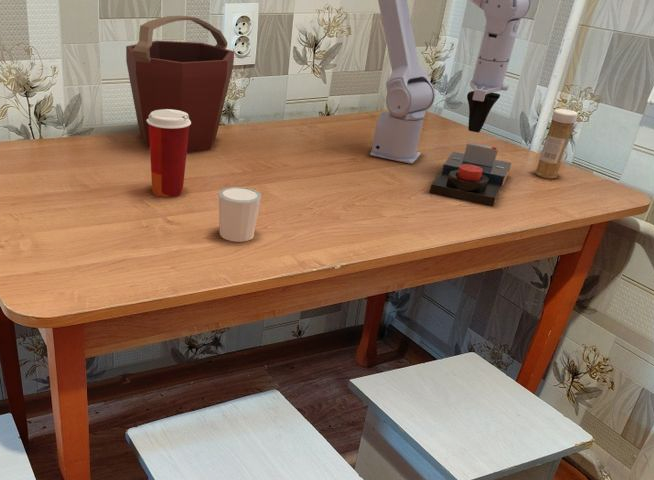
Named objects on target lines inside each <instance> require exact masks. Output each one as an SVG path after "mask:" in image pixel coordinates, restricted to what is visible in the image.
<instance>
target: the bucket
mask: <svg viewBox="0 0 654 480" xmlns="http://www.w3.org/2000/svg"><path fill="white" fill-rule="evenodd" d="M177 21H178V22H180V21H191V22H193V23H195V24H196V25H199V26H201V27H202V28H203V29H205V30H206V31H208V32H210V34H211V35H212V37H213V38H214V40H215V42H216V44H215V45H212V44H209V43H205V42H196V41H195V42H194V41H175V40H153V37H154V36H153V35H154V30H156V29H158V28H160V27H162V26H164V25H167V24H171V23H174V22H177ZM228 44H229V43H228V41H227V39H226V37H225V36H224V34H223V33H222V31H221V30H220V29H218V28H217V27H214V26H213V25H212V24H211V23H209V22H207V21H205V20H202V19H200V18H198V17H195V16H190V15H168V16H163V17H159V18H154V19H152V20H149V21H147V22H144V23H143V24H141V25H140V26H139V33H138V41H137V43H136V44H135V43H134V44H130V45H126V46H125V59H126V60H125V61H126V67H127V73H128V78H129V84H130V89H131V92H132V93H131V95H132V101H133V105H134V111H135V115H136V121H137V127H138V131H139V137H140V139H141V141H142V142H143V143H144V145H145V146H146V148H148V149H150V137H149V124H148V123H147V121H146V120H147V119H148V118H149V115H150V113H151V112H152V111H155V110H161V109H172V110H179V111H183V112H186V113H187V114H188V115H189V120H190V121H191V125H189V133H188V145H187V153H192V152H200V151H210V150H211V149H212V147H213V145H214V143H215V141H216V140H217V136H218V135H217V134H218V132H219V131H218V130H219V127H220V123H221V119H222V114H223V110H224V106H225V102H226V98H227V93H228V90H229V86H230V81H231V78H232V73H233V69H234V63H235V62H234V61H235V51H234V50H232V49H227V48H228Z"/></svg>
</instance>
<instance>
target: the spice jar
mask: <svg viewBox="0 0 654 480" xmlns="http://www.w3.org/2000/svg"><path fill="white" fill-rule="evenodd" d="M578 116H579V114H578V112H577V111H575V110H571V109H567V108H566V109H565V108H557V109H554V110H553V113H552V116H551V120H550V121H551V122H550V125H549V128H548V131H547V134H546V137H545V140H544V143H543V146H542V149H541V153H540V156H539V160H538V163H537V166H536V170H535V171H534V174H535V175H536V176H538V177H540V178H544V179H550V180H551V179H556V178H558V176H559V174H558V173H559V170H560V167H561V164H562V162H563V160H564V157H565V153H566V151H567V147H568V143H569V141H570V138H571V134H572V132H573V128H574V125H575V123H576V122H577V119H578Z"/></svg>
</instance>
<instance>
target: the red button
mask: <svg viewBox="0 0 654 480" xmlns="http://www.w3.org/2000/svg"><path fill="white" fill-rule="evenodd" d="M482 172H483V169H482V168H481V167H478V166H475V165H470V164H463V165H460V166H459V170H458V174H457V177H459V178H461V179H464V180H469V181H480V179H481V176H482Z"/></svg>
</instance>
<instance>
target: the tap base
mask: <svg viewBox="0 0 654 480" xmlns="http://www.w3.org/2000/svg"><path fill="white" fill-rule="evenodd" d="M464 154H465V153H462V152H456V151H452V153H451V154H450V155H449V156H448V158H447V159H446V161H445V162H444V163H443V165H442V168H441V173H443V174H448V175H449V173H450V172H451V171H455V170H459V166H460V165H463V164H470V165H475V166H478V167H481V168H482V169H483V172H482V174H483V175H486V176H487V177H488V178H489V181H488V183H492V184H497V185H501V189H500V192H501V191H502V189H503V187H504V185H505V183H506V180H507V179H508V176H509V173H510V169H511V166H512V162H509V161H503V160H499V159H495V162H494V165H493V167H489V166H484V165H479V164H474V163H469V162H463V157H464Z"/></svg>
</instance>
